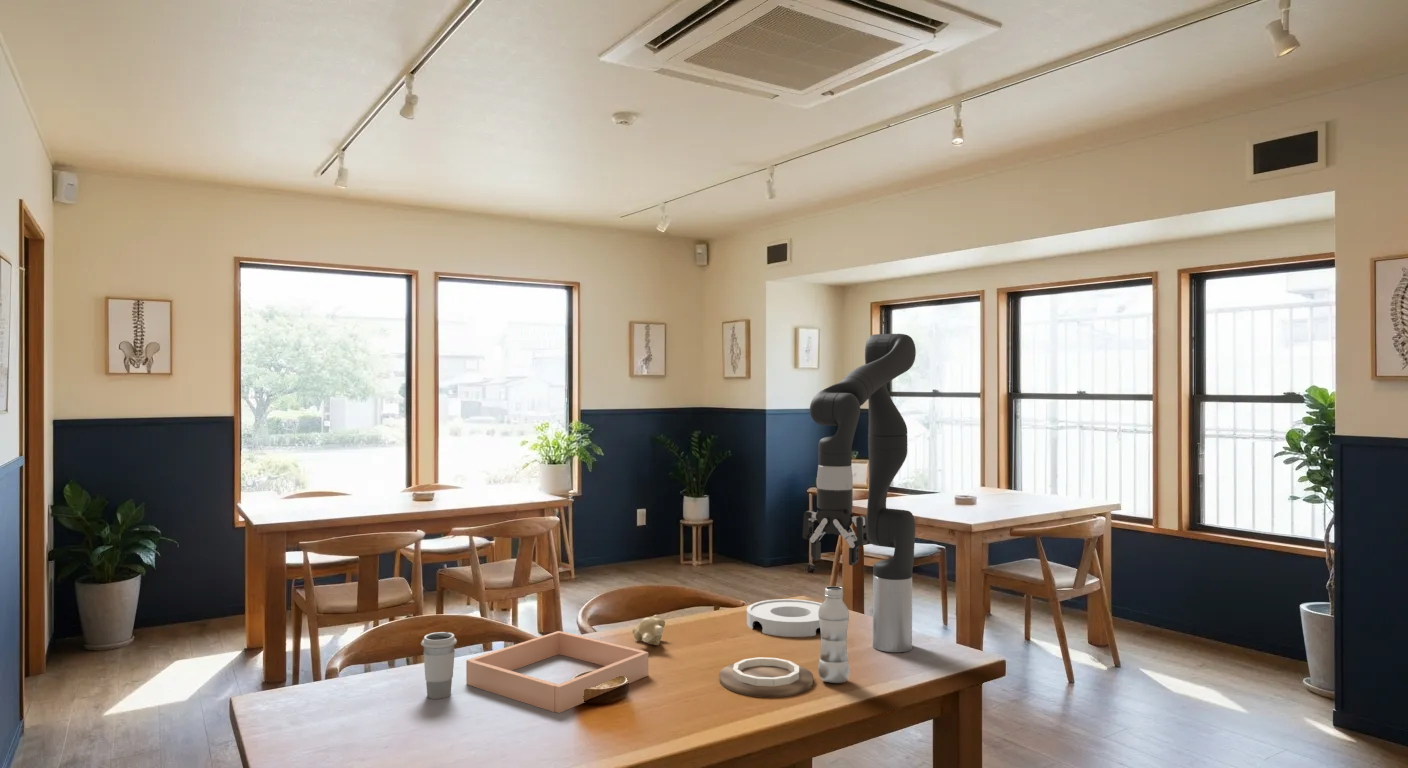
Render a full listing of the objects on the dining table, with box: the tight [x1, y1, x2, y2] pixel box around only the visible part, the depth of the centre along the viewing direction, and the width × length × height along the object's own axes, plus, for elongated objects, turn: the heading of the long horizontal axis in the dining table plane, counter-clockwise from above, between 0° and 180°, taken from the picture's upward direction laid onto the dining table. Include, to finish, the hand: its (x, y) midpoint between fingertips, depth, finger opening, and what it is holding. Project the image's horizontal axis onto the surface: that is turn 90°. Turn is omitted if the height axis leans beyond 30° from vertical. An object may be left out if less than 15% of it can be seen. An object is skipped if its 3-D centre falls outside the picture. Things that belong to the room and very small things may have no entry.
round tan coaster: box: [718, 662, 814, 698], centre depth 191 cm, size 20×20×1 cm
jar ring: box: [733, 656, 799, 686], centre depth 191 cm, size 14×14×2 cm
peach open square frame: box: [465, 630, 649, 714], centre depth 191 cm, size 27×27×5 cm
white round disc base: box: [746, 598, 823, 638], centre depth 235 cm, size 23×23×4 cm
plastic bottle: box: [817, 585, 851, 684], centre depth 191 cm, size 6×7×20 cm
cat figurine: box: [632, 614, 666, 646], centre depth 216 cm, size 8×7×12 cm
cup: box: [420, 631, 458, 700], centre depth 182 cm, size 7×7×12 cm
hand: (834, 562), depth 190 cm, fingers open, 8 cm apart
